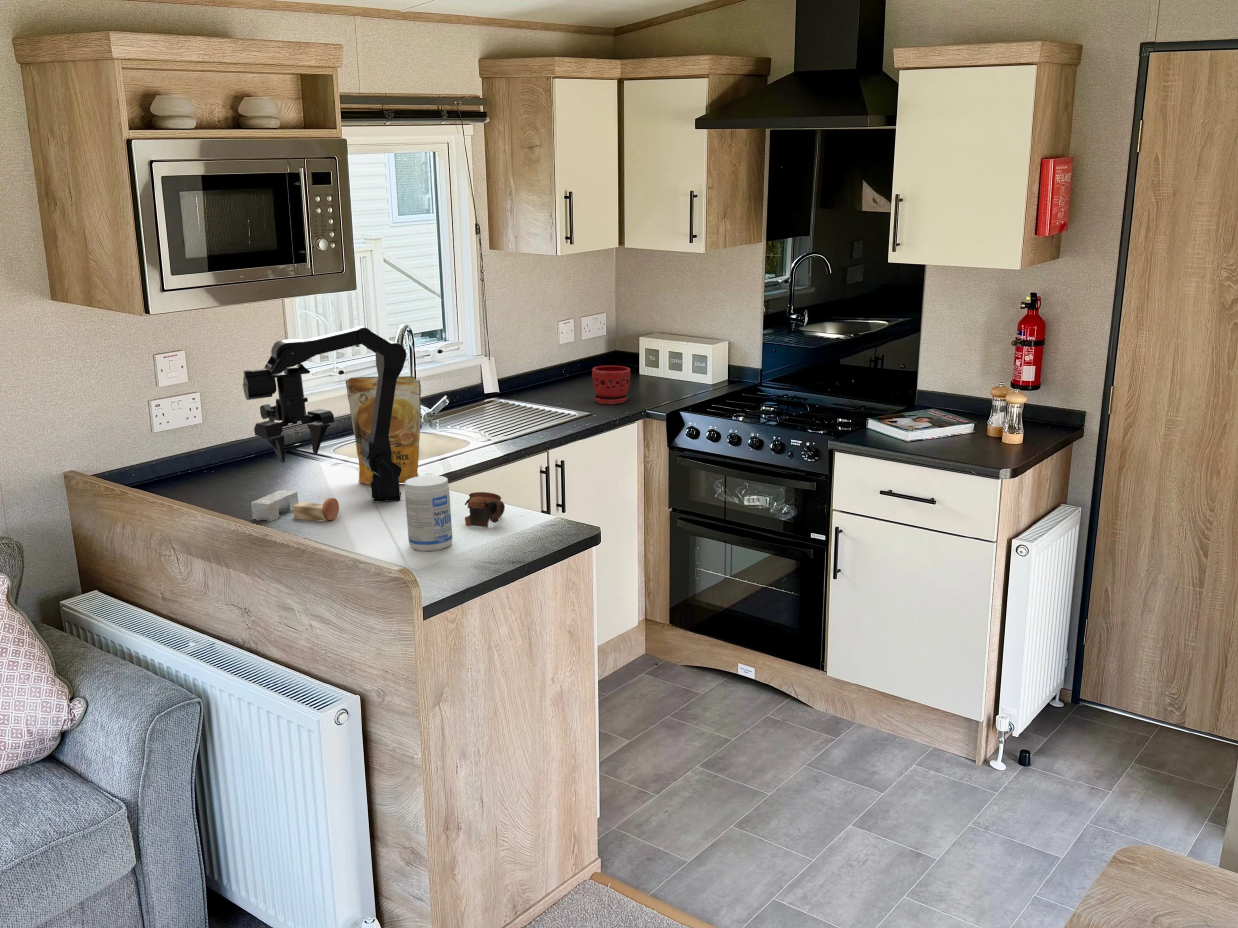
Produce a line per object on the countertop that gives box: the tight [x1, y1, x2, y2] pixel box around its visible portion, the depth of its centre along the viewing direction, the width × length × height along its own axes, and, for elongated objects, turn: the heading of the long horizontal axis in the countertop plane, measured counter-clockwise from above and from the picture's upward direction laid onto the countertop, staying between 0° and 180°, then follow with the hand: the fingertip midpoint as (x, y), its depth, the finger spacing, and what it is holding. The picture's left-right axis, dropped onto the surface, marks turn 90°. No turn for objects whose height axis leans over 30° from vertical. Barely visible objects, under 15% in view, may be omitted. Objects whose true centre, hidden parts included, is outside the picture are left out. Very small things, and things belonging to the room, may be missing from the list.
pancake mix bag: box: [344, 375, 422, 486], centre depth 298 cm, size 7×19×28 cm, turn 86°
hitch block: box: [250, 489, 299, 522], centre depth 275 cm, size 5×11×4 cm, turn 159°
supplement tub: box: [404, 474, 453, 552], centre depth 247 cm, size 10×10×15 cm
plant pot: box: [591, 365, 631, 405], centre depth 392 cm, size 13×13×12 cm
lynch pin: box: [293, 497, 340, 522], centre depth 271 cm, size 10×5×5 cm, turn 69°
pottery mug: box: [464, 491, 505, 528], centre depth 264 cm, size 12×10×8 cm
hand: (299, 458), depth 273 cm, fingers open, 9 cm apart
